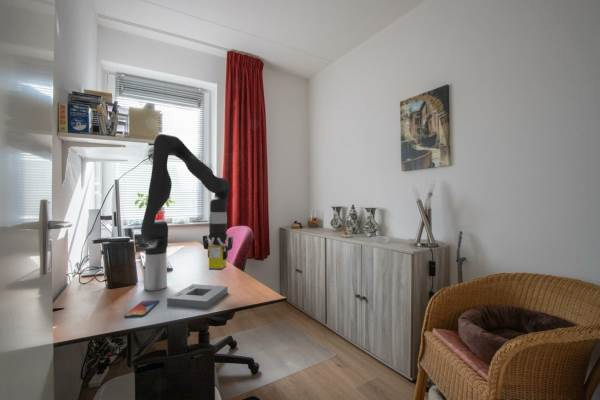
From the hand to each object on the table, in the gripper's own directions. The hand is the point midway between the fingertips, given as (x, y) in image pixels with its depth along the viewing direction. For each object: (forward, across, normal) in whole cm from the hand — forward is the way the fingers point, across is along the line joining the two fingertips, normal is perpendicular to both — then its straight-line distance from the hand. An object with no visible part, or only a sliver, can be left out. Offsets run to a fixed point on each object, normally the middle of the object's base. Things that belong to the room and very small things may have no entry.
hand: (217, 258), depth 120 cm
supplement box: (+5, 0, 0) cm, 5 cm away
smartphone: (+18, -23, -18) cm, 34 cm away
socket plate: (+17, -6, -4) cm, 19 cm away
